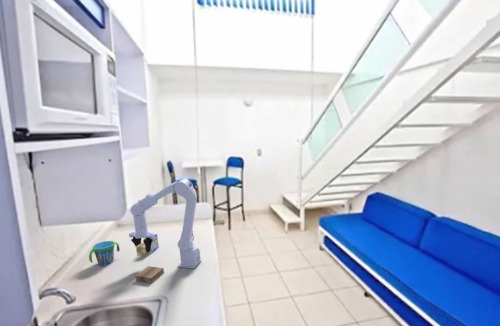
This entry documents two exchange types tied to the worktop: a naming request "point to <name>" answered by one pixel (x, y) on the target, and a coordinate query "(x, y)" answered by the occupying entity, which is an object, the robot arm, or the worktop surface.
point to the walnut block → (149, 274)
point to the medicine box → (154, 243)
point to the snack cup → (104, 252)
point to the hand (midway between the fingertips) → (144, 251)
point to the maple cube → (142, 250)
